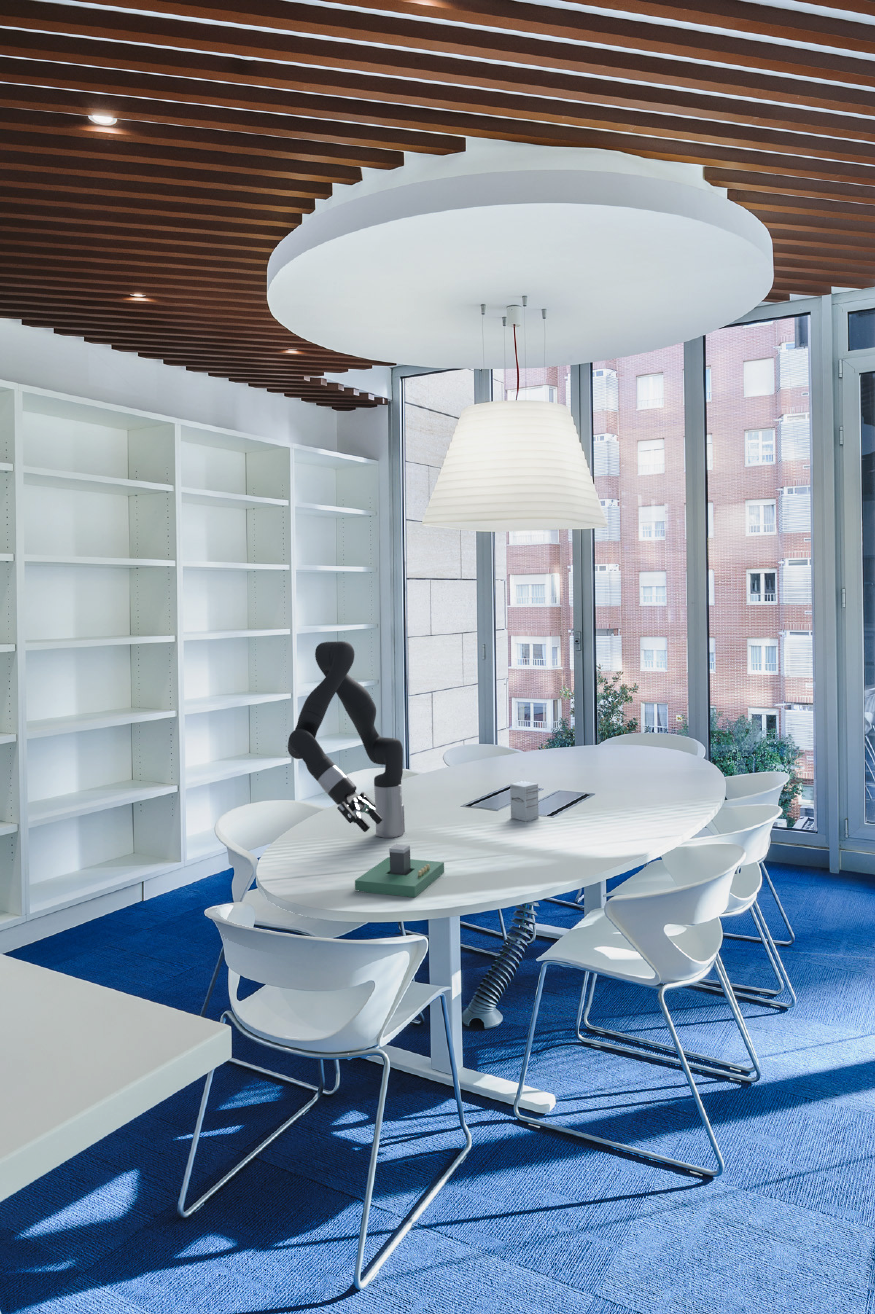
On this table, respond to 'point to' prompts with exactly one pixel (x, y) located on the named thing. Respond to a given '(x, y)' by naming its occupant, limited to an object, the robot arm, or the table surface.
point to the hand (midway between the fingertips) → (374, 825)
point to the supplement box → (524, 800)
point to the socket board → (400, 878)
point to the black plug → (400, 859)
